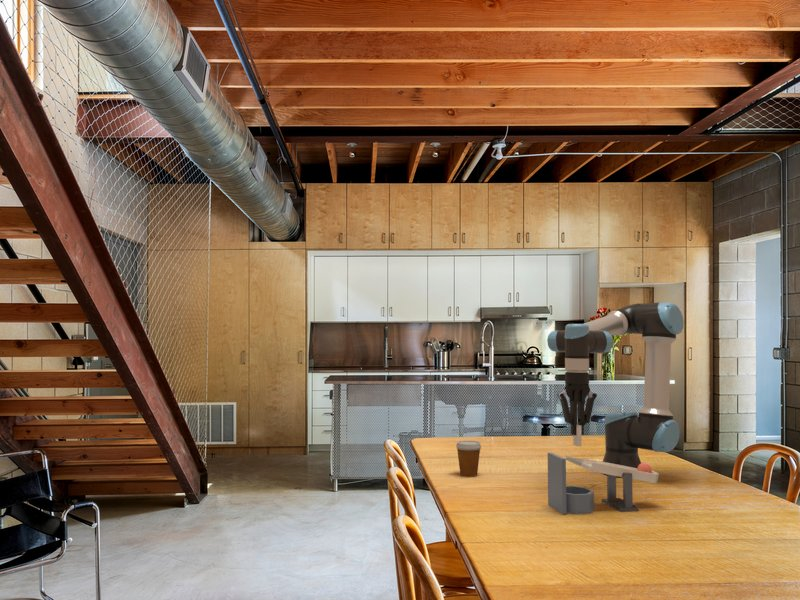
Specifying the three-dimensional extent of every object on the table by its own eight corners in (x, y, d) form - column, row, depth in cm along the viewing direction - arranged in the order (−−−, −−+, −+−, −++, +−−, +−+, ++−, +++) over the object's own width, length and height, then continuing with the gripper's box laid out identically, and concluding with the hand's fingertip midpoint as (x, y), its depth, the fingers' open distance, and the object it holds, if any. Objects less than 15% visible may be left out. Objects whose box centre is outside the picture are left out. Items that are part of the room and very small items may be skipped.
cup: (582, 503, 194) (581, 451, 195) (599, 512, 183) (598, 457, 184) (547, 504, 191) (547, 452, 192) (563, 514, 181) (562, 459, 182)
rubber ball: (644, 476, 195) (648, 463, 195) (651, 479, 191) (655, 466, 191) (633, 472, 194) (637, 459, 194) (640, 474, 190) (644, 462, 190)
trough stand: (619, 501, 196) (618, 465, 197) (638, 510, 185) (638, 473, 186) (601, 501, 195) (601, 466, 196) (620, 511, 184) (619, 474, 185)
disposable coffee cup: (480, 478, 226) (480, 445, 227) (454, 477, 228) (454, 444, 229) (482, 472, 236) (482, 440, 236) (457, 471, 238) (457, 440, 238)
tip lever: (625, 472, 206) (627, 461, 207) (657, 485, 189) (659, 473, 189) (565, 460, 203) (567, 449, 203) (592, 472, 185) (594, 460, 186)
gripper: (589, 371, 206) (590, 443, 204) (553, 370, 203) (553, 443, 202) (601, 372, 198) (602, 447, 197) (563, 372, 196) (563, 447, 194)
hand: (577, 445), depth 199 cm, fingers closed
